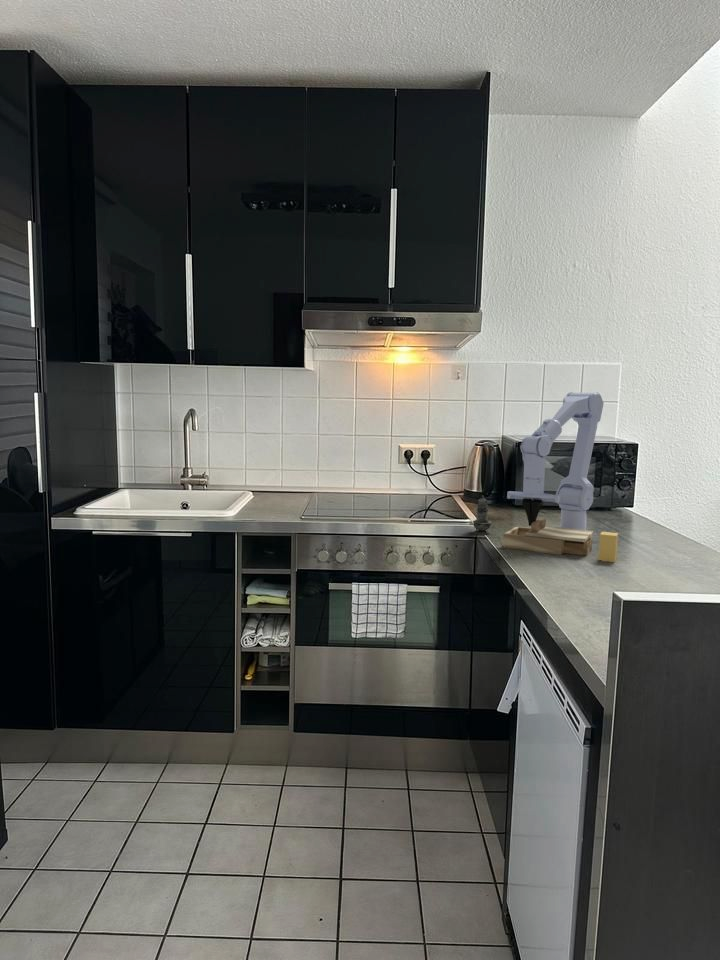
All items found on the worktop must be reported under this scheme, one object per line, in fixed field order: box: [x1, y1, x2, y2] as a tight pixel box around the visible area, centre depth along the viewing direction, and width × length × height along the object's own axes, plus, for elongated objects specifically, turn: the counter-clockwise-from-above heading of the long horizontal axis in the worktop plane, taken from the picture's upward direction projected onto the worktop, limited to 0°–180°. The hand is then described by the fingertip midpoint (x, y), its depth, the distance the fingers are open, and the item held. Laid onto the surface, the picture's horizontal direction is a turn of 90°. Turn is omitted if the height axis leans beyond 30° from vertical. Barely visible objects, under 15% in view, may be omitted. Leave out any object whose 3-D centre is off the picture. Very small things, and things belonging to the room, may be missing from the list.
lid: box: [525, 517, 595, 542], centre depth 183 cm, size 13×16×3 cm
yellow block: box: [598, 531, 619, 563], centre depth 172 cm, size 4×4×7 cm
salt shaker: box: [472, 495, 492, 536], centre depth 204 cm, size 6×6×12 cm
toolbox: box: [502, 526, 593, 556], centre depth 185 cm, size 13×22×4 cm, turn 61°
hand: (531, 525), depth 186 cm, fingers closed
